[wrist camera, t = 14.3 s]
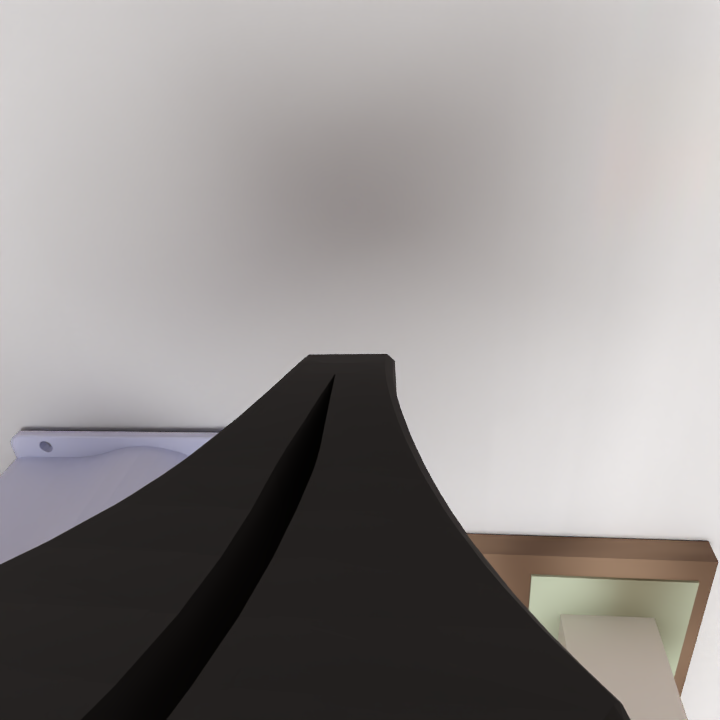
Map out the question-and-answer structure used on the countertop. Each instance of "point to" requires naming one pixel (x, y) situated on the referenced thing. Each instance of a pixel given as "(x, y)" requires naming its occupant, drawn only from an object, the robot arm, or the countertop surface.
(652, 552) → the compartment tray
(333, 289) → the countertop surface
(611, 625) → the two-tone sage block
